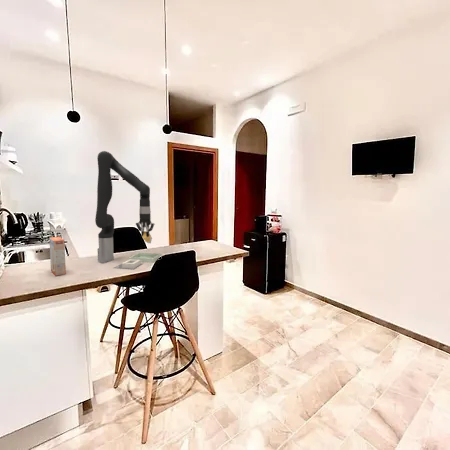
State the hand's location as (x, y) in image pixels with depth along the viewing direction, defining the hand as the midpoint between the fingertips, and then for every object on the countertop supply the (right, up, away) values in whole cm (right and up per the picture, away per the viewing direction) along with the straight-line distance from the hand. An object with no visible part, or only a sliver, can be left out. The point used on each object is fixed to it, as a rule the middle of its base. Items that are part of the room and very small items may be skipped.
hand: (145, 236), depth 188 cm
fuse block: (-6, -19, -16) cm, 26 cm away
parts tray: (0, -17, +2) cm, 17 cm away
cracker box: (-43, -20, -30) cm, 56 cm away
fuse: (+1, -3, +8) cm, 9 cm away
